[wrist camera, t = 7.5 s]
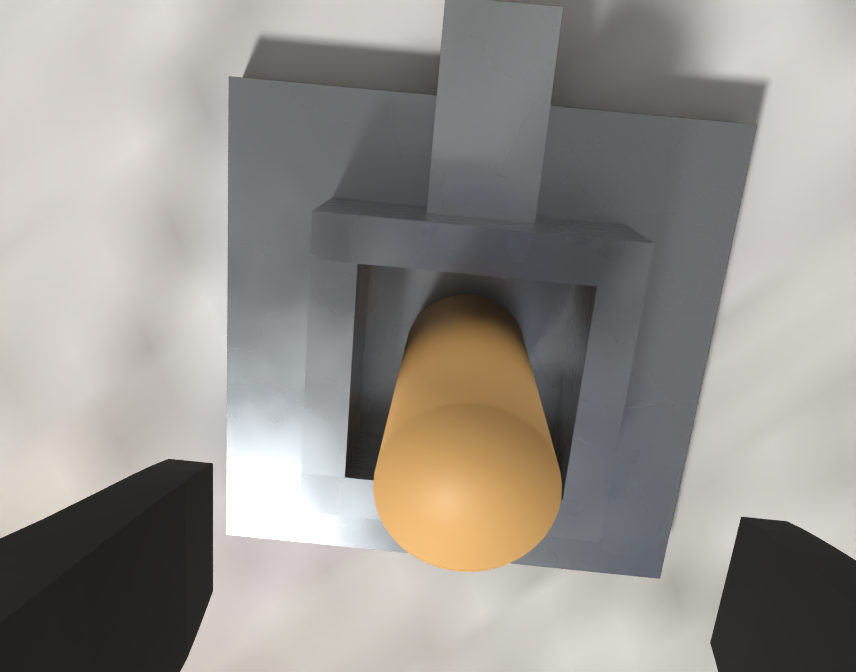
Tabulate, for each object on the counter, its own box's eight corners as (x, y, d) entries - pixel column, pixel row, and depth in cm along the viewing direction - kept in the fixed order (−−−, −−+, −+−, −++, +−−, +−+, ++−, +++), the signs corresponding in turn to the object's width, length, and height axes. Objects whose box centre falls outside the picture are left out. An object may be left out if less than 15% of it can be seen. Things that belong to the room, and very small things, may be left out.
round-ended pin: (529, 297, 18) (570, 408, 11) (519, 411, 19) (553, 577, 12) (407, 291, 18) (375, 397, 11) (403, 404, 19) (371, 565, 12)
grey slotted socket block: (758, 38, 17) (832, 20, 13) (650, 557, 21) (686, 642, 18) (242, -9, 17) (188, -38, 14) (237, 515, 21) (194, 591, 18)
